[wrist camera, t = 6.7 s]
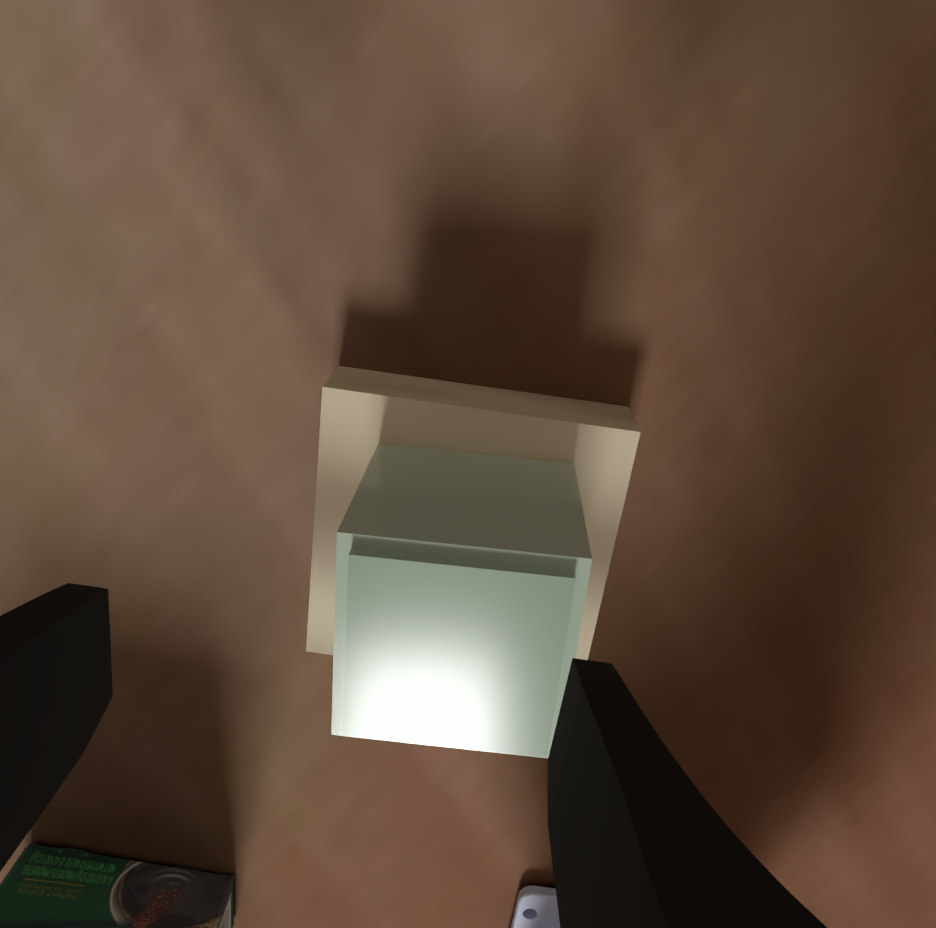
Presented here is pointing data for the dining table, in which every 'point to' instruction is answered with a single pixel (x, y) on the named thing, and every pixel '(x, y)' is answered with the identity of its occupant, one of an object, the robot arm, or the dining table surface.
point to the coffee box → (110, 893)
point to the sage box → (458, 600)
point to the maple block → (465, 430)
